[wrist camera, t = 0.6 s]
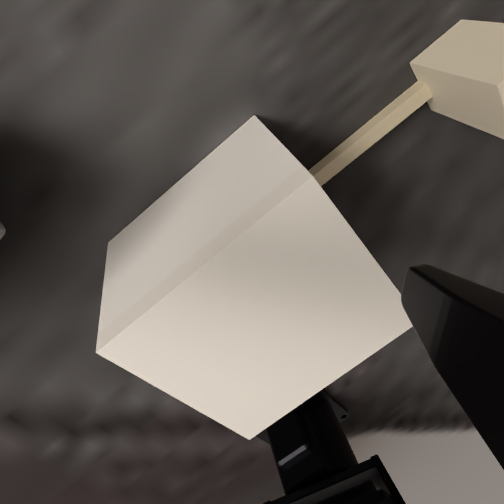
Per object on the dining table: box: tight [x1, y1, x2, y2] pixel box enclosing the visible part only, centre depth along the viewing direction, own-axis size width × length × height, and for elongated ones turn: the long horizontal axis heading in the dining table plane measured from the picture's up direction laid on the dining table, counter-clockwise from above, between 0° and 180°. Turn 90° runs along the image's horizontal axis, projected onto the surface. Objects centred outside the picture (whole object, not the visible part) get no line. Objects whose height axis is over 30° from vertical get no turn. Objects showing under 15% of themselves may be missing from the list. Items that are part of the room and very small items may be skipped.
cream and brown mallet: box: [308, 19, 504, 186], centre depth 20 cm, size 5×18×6 cm, turn 128°
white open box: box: [96, 115, 413, 440], centre depth 20 cm, size 9×10×8 cm
